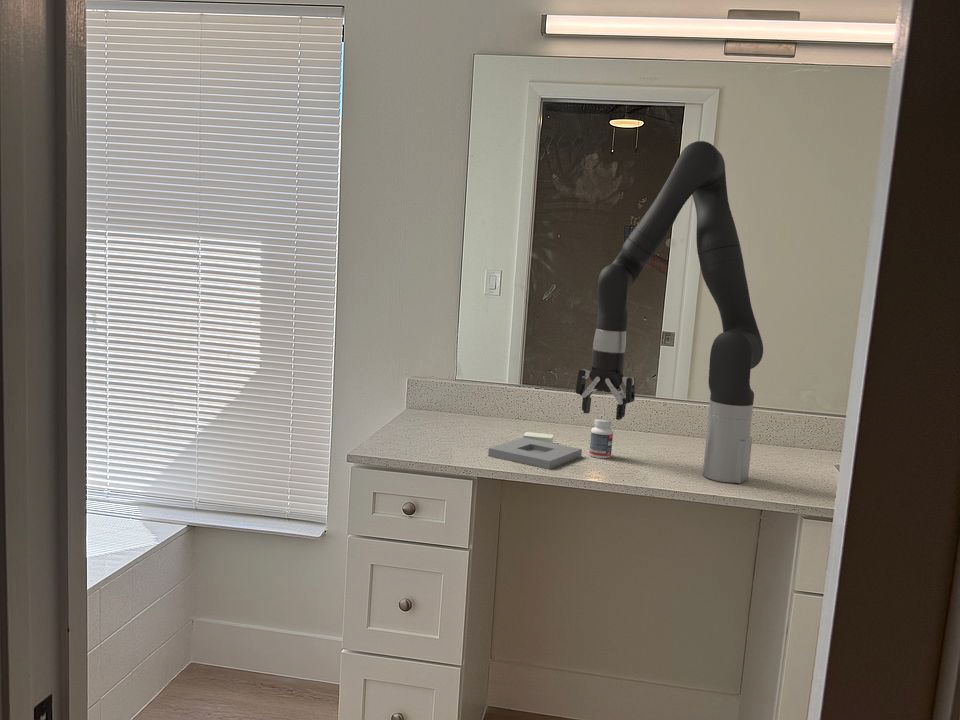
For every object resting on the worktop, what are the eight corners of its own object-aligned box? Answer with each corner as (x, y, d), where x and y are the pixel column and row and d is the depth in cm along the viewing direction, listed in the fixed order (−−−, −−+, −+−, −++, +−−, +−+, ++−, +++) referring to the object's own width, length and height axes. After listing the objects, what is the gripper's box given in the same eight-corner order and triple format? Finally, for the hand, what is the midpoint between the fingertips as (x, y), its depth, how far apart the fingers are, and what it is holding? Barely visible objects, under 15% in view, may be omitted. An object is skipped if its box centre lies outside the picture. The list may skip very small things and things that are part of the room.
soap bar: (552, 444, 216) (553, 434, 215) (551, 448, 211) (551, 438, 211) (525, 441, 217) (525, 431, 216) (522, 445, 212) (523, 435, 212)
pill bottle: (610, 459, 202) (613, 423, 201) (588, 457, 203) (591, 420, 202) (611, 454, 207) (614, 418, 206) (589, 452, 208) (592, 416, 207)
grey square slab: (581, 456, 203) (581, 449, 203) (548, 469, 190) (549, 461, 190) (523, 444, 212) (523, 437, 211) (488, 455, 198) (488, 448, 198)
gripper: (643, 351, 201) (636, 419, 203) (589, 343, 209) (582, 408, 211) (630, 354, 195) (623, 424, 197) (574, 345, 202) (568, 413, 205)
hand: (602, 416), depth 204 cm, fingers open, 8 cm apart
